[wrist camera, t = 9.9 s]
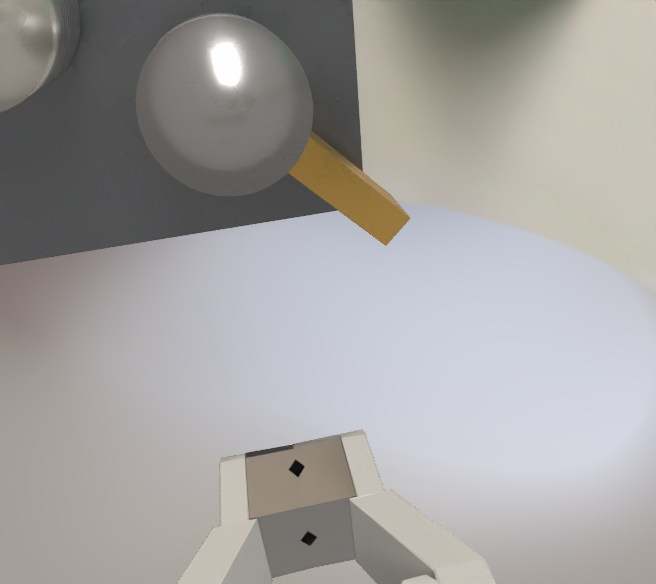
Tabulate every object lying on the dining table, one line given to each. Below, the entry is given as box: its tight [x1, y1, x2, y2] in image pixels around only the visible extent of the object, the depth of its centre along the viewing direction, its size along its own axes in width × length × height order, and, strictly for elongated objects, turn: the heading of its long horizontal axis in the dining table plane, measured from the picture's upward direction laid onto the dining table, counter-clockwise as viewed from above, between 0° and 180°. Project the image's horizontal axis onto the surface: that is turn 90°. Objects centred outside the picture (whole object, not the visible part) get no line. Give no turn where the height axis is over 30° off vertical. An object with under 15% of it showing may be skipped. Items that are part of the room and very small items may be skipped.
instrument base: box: [0, 0, 363, 265], centre depth 22 cm, size 18×14×8 cm
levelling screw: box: [136, 13, 410, 245], centre depth 22 cm, size 12×6×7 cm, turn 50°
